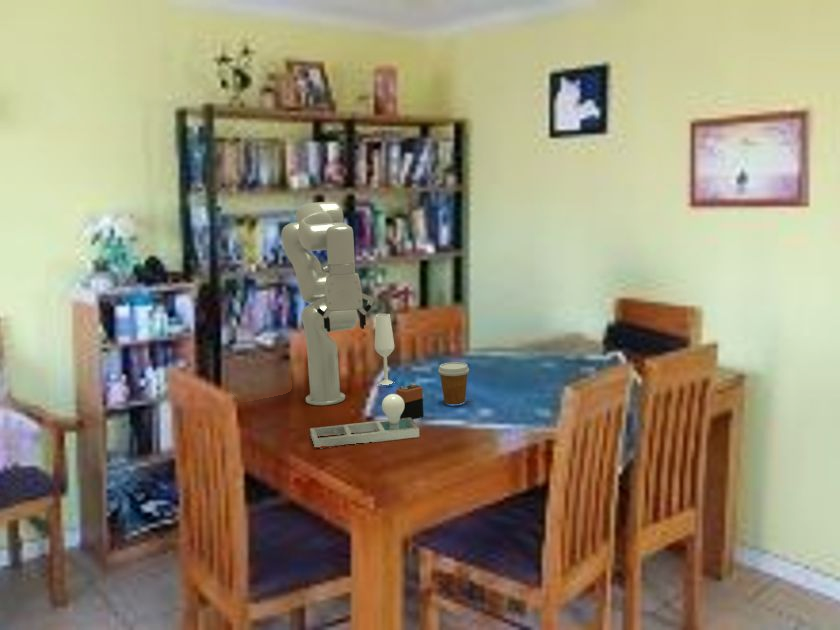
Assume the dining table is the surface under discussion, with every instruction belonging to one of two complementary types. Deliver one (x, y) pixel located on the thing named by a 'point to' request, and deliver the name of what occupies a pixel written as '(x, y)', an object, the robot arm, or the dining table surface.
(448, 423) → the dining table surface
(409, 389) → the battery
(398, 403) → the lightbulb
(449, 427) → the dining table surface
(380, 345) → the champagne flute
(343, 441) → the rail
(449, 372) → the disposable coffee cup
